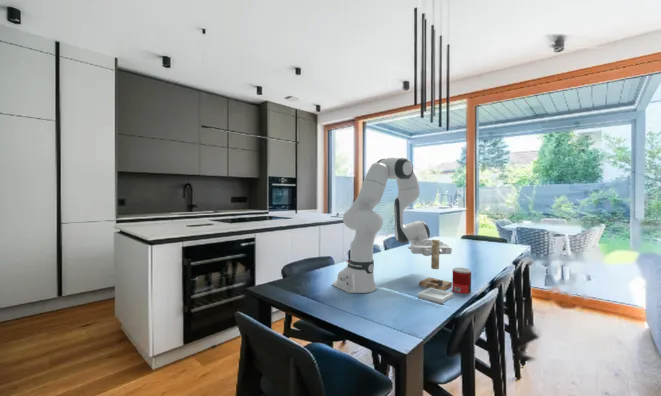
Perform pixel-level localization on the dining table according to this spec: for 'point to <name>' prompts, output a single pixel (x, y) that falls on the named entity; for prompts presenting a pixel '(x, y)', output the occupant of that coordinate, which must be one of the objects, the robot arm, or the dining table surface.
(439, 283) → the socket block
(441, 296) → the tray
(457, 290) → the canned food
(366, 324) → the dining table surface
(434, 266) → the dowel
